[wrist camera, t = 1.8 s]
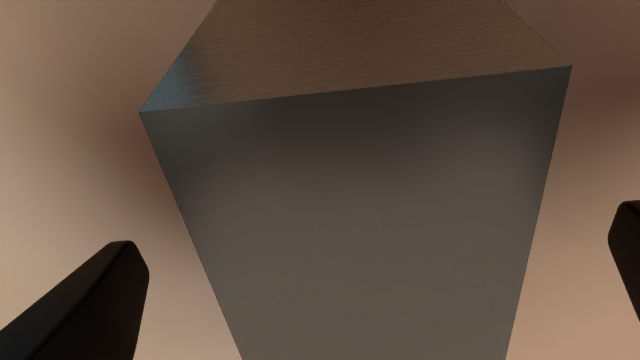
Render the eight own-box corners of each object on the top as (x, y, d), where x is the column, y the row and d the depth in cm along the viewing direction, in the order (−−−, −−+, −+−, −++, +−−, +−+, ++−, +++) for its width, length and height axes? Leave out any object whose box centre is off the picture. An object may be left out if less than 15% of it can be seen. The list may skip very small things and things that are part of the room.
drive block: (437, -60, 10) (571, 65, 4) (429, 208, 15) (489, 430, 9) (241, -33, 10) (138, 112, 5) (295, 219, 15) (275, 439, 10)
